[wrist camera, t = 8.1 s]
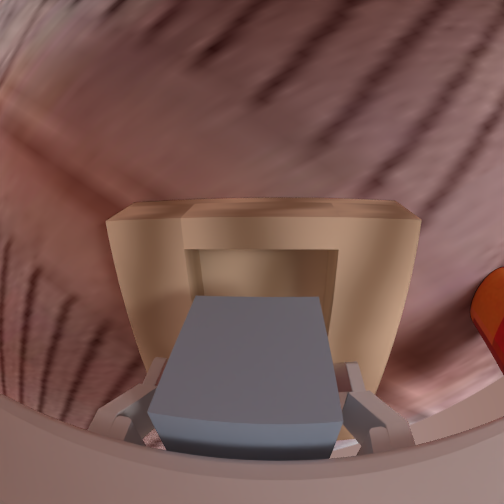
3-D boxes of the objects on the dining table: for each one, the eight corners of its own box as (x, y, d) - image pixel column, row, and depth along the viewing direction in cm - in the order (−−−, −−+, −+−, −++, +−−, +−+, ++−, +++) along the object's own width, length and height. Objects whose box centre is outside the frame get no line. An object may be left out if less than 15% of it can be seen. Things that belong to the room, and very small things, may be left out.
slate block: (318, 296, 12) (343, 421, 6) (308, 380, 14) (316, 487, 8) (195, 295, 12) (147, 412, 7) (209, 377, 14) (184, 480, 9)
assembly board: (395, 200, 15) (466, 255, 8) (350, 406, 22) (362, 479, 16) (134, 202, 16) (57, 254, 10) (181, 403, 24) (160, 472, 17)
